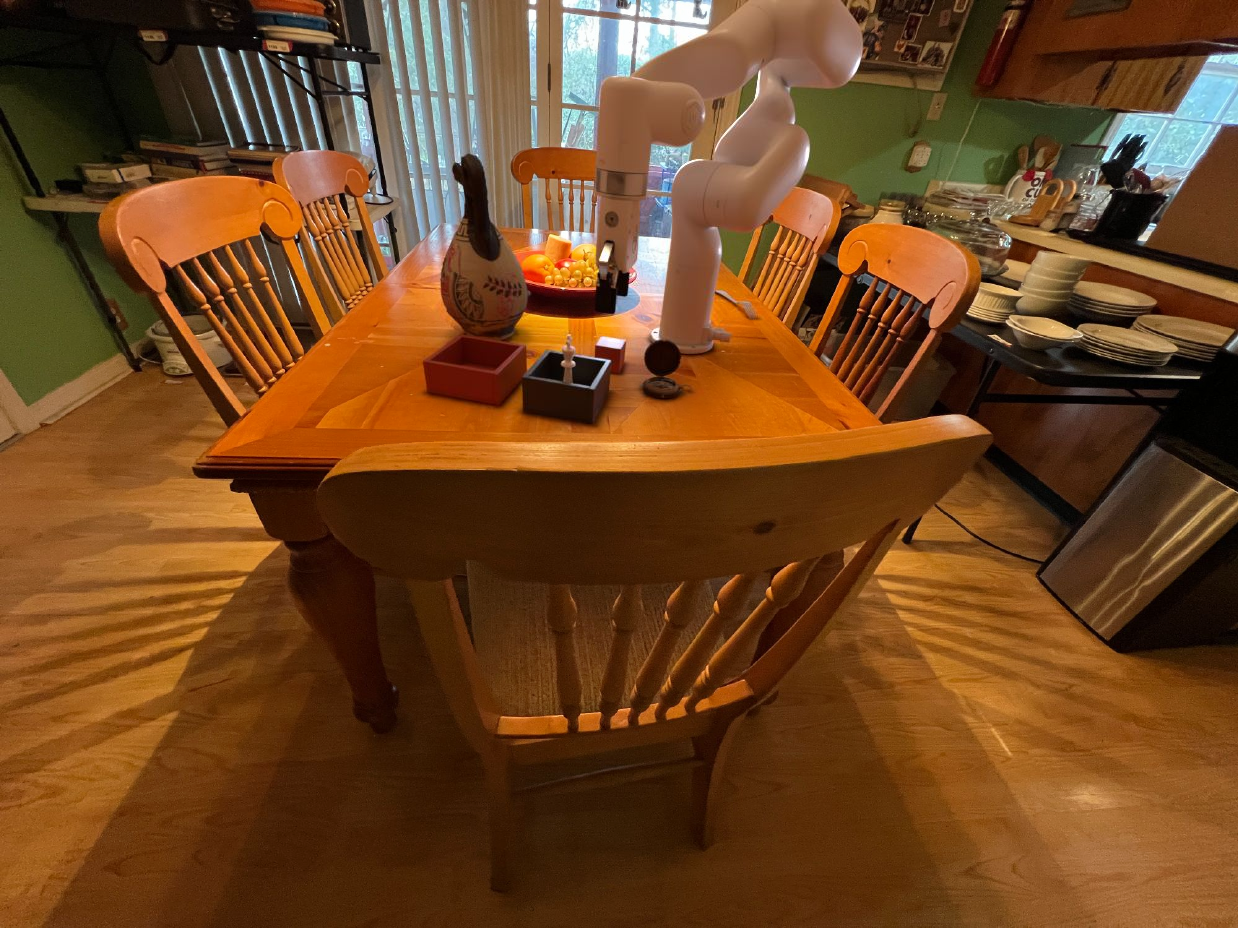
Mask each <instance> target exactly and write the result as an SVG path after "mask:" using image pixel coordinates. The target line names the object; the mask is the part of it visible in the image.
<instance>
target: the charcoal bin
mask: <svg viewBox="0 0 1238 928" xmlns="http://www.w3.org/2000/svg"><path fill="white" fill-rule="evenodd" d="M564 360H565V359H564V355H563V352H562V351H557V350H553V349H552V350H551V349H545V350H544V352H543V353H542V354H541V355H540V356H539V357H538V358H537V359H536V360H535V361H534V363H533V364H532V365H531V366H530V367H529V368H528V369H527V372H526V373H525V374H524V375H523V376H522V380H521V393H522V394H521V397H522V399H521V400H522V412H524V413H529V414H533V415H534V414H535V415H539V416H545V417H550V418H555V419H561V420H566V421H567V420H568V421H571V422H572V421H573V422H576V423H577V422H578V423H582V424H583V423H584V424H589V425H593V424H594V422H595V420H596V418H597V417H598V415H599V413H600V411H601V409H602V407H603V405H604V403H605V401H606V400H607V397H608V395H609V393H610V388H611V387H610V386H611V373H612V372H611V360H606V359H601V358H595V356H588V355H582V354H576V353H574V356H573V359H572V361H574V362H575V364H576V365H575V366H574V367H572V379H573V383H567V382H563V379H564V372H565V367H563V366H562V365H561V362H562V361H564Z"/></svg>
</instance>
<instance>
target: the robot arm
mask: <svg viewBox="0 0 1238 928" xmlns="http://www.w3.org/2000/svg"><path fill="white" fill-rule="evenodd" d="M863 38H864V37H863V33H862V30H861V27H860V25H859V23H858V21H856V18H854V16H853V15H852V13H851V12H850V10H849V9H848V8H847V7H846V5H845V4H844V2H843V1H842V0H747V1H746V2H745V3H744V4H742V6H740V7H739V8H737V10H735V11H734V12H733V13H732V14H730V16H728V17H727V18H726V19H725V20H723V21H722V22H721V23H720V24H718V25H717V26H716V27H715V28H713V29H712V30H711V31H709V32H707V33H704V34H702V35H699V36H696V37H695V38H692V39H690V40H689V41H685V42H684V43H682V44H680V45H677V46H675V47H673V48H671V49H669V50H667V51H664V52H663V53H660V54H658V55H656V56H655V57H653V58H651V59H650V60H648V61H647V62H645V63H643V65H640V67H638V68H637V69H636V70H635V71H634V72H633V73H631V74H630V75H629V76H622V75H613V76H612V75H611V76H607V77H606V78H605V79H603V81H602V82H601V84H600V87H599V97H598V99H599V100H598V120H597V136H596V137H597V138H596V156H595V159H596V160H595V177H594V195H595V196H598V197H600V202H599V210H598V219H597V220H598V221H597V231H596V244H595V266H596V268H597V269H598V272H597V274H596V277H597V278H596V282H595V283H596V284H595V296H594V297H595V298H594V311H595V312H596V313H601V314H607V315H615V313H616V310H617V299H618V297H622V298H626V297H627V296H628V295H629V286H630V276H631V272H630V270H631V269H632V268H633V267H634V266H635V264H636V262H637V260H638V254H639V253H638V252H639V239H640V224H641V223H640V222H641V201H645V200H646V199H647V193H648V192H647V191H648V181H649V171H650V164H651V163H650V162H651V154H652V153H651V152H652V145H655V146H660V147H667V148H681V147H686V146H687V145H689V144H691V143H692V142H694V141H695V140H696V139H697V138H698V136H699V135H700V134H701V133H702V130H703V128H704V125H705V121H706V106H705V101H711V100H715V99H716V100H717V99H720V98H723V97H726V96H730V95H733V94H734V93H736V92H738V91H739V90H740V89H741V88H742V87H744V86H745V85H746V84H747V83H748V82H749V81H751V80H752V78H753V77H755V76H756V75H757V74H758V77H757V84H756V92H755V97H754V100H753V101H752V102H751V104H750V105H749V106H748V108H746V109H745V111H744V112H743V113H742V114H741V115H740V116H739V117H738V118H737V119H736V120H735V121H734V122H733V124H732V125H730V127H729V128H728V129H727V130H726V131H725V133H724V134H723V135H722V136H721V138H720V140H718V142H717V144H716V146H715V149H714V152H713V159H703V158H700V159H693V160H691V161H688V162H686V163H684V164H683V165H682V166H680V168H679V169H678V170H677V171H676V173H675V175H674V178H673V180H672V184H671V190H670V206H671V209H670V210H671V235H670V244H669V254H668V261H667V269H666V275H665V283H664V290H663V291H664V292H663V299H662V307H661V315H660V321H659V327H656V328H654V329H653V330H652V331H651V333H650V340H651V343H653V342H654V341H657V340H662V339H666V340H670V341H672V342H673V343H675V344H676V346H677V347H678V349H679V351H680V354H684V355H685V354H687V355H697V354H703V353H706V352H708V351H710V350H711V349H713V346H714V341H719V342H722V343H728V344H729V343H730V339H731V334H732V332H729V331H726V329H725V328H720V327H714V325H711V324H712V319H711V315H712V309H713V305H714V299H715V293H716V292H715V290H717V289H716V288H717V283H718V277H719V272H720V267H721V261H722V256H723V244H722V238H721V235H720V232H719V231H720V230H719V229H722V230H726V231H731V232H735V233H740V234H747V233H752V232H754V231H756V230H758V229H759V228H760V227H761V226H763V224H764V223H765V222H766V221H767V220H768V219H769V218H770V217H771V215H772V214H773V213H774V212H775V211H776V209H778V208H779V206H780V205H781V204H782V203H783V202H784V200H785V199H786V198H787V197H788V196H789V194H790V193H791V192H793V190H794V189H795V187H796V186H797V184H798V183H799V181H800V180H801V179H802V177H803V174H804V172H805V171H806V168H807V165H808V161H809V158H810V153H811V142H810V138H809V135H808V133H807V131H806V130H805V129H804V128H803V127H802V126H800V125H798V124H796V123H795V122H796V110H795V105H794V102H793V99H792V97H791V88H808V89H809V88H811V89H837V88H841V87H843V86H844V85H846V84H847V83H848V82H849V81H850V80H851V79H852V78H854V75H855V74H856V73H857V71H858V68H859V66H860V63H861V60H862V56H863V51H864V39H863Z"/></svg>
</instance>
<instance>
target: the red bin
mask: <svg viewBox="0 0 1238 928" xmlns="http://www.w3.org/2000/svg"><path fill="white" fill-rule="evenodd" d="M527 356H528V355H527V345H526V344H521V343H515V342H509V341H503V340H500V341H497V340H491V339H485V338H479V337H473V336H467V335H466V334H462V333H461V334H458V335H457V336H455V337H453V338H452V339H451V340H450V341H448V342H447V343H446V344H444V345H442V346H441V347H440V348H439V349H438V350H436V351H434V352H433V353H431V355H429V356H428V357H426V358H425V359H423V361H422V366H423V374H424V378H425V386H426V392H427V393H430V394H434V395H440V396H446V397H452V398H458V399H463V400H468V401H472V402H478V403H483V404H490V405H495V406H501V404H502V403H503V401H504V400H505V399H507V397H508V396H509V395H510V394H511V393H512V391H513V390H514V389H515V388H516V387H517V386H518V385H519V384H520V383H521V382H522V376H523V375H524V374H525V373H526V372H527V371H528V360H527V359H528V358H527Z"/></svg>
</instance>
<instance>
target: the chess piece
mask: <svg viewBox="0 0 1238 928" xmlns="http://www.w3.org/2000/svg"><path fill="white" fill-rule="evenodd" d="M572 340H573V337H572V335H571V334H567V336H566V340H565V345H564V346H562V347H561V352H563V355H564V359H565V360H564V361H562V362H561V365H562V366H563V367H565V372H564V379H563V382H567V383H573V379H572V367H574V366H575V365H576V364H575V362H574V361H572V359H573V356H574V354H576V351H577V350H576V348H575V346H572V344H571V343H572Z"/></svg>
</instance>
